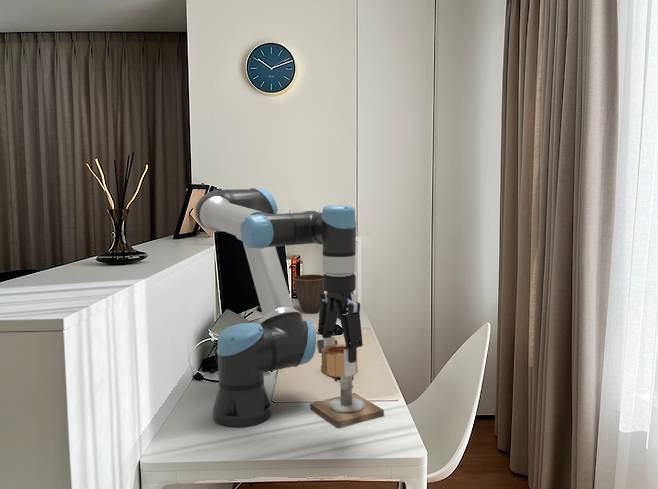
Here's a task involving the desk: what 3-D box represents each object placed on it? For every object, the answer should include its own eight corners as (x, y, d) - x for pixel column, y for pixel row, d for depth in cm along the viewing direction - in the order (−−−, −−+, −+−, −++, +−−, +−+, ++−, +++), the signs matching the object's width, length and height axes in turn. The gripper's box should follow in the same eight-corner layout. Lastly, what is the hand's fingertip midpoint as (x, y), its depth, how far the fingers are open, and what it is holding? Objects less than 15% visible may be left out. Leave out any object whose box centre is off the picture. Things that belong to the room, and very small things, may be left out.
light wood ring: (333, 379, 131) (333, 357, 130) (315, 368, 138) (315, 348, 137) (364, 372, 135) (364, 351, 134) (344, 362, 142) (344, 342, 141)
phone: (318, 352, 205) (317, 339, 220) (318, 354, 205) (317, 342, 220) (339, 351, 205) (336, 339, 220) (339, 354, 206) (336, 341, 220)
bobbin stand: (338, 427, 145) (337, 377, 143) (310, 408, 157) (309, 361, 155) (383, 415, 152) (383, 366, 150) (354, 398, 164) (353, 353, 162)
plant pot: (289, 314, 262) (288, 279, 260) (300, 307, 276) (299, 273, 274) (320, 316, 258) (320, 280, 256) (330, 309, 272) (330, 275, 270)
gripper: (379, 278, 126) (379, 380, 129) (329, 265, 144) (330, 354, 147) (350, 282, 123) (350, 386, 125) (302, 268, 140) (303, 359, 143)
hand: (339, 369), depth 136 cm, fingers closed on light wood ring, 8 cm apart
